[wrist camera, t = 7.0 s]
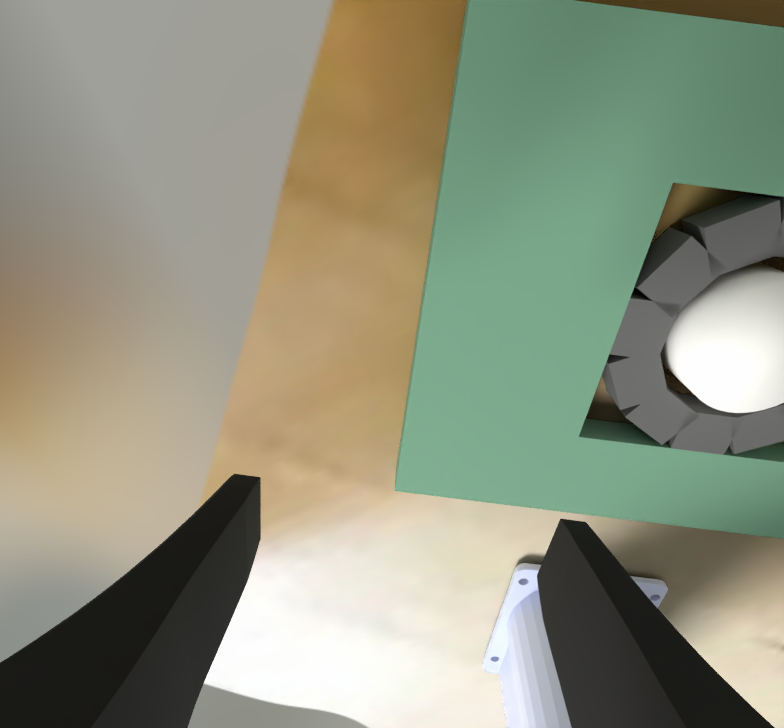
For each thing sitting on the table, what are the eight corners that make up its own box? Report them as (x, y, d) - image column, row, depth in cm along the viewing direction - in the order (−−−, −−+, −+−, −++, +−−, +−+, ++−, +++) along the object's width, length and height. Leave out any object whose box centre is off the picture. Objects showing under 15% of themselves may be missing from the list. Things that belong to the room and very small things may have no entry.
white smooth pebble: (747, 386, 19) (792, 421, 17) (633, 369, 19) (663, 402, 17) (817, 271, 17) (879, 294, 15) (687, 250, 17) (731, 269, 15)
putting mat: (768, 514, 22) (790, 540, 21) (396, 468, 22) (394, 490, 21) (1063, 77, 14) (1131, 72, 13) (466, 0, 14) (471, -13, 12)
